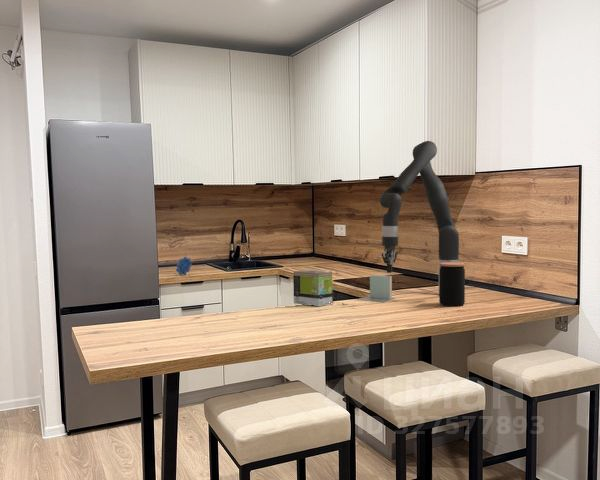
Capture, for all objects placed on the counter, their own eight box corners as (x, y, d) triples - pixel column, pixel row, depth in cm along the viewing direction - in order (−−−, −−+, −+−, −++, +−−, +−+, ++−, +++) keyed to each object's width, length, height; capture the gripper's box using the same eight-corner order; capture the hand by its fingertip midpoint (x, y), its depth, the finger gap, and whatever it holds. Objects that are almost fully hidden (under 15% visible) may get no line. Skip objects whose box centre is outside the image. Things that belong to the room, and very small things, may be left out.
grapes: (187, 273, 380) (187, 256, 380) (193, 274, 376) (193, 256, 375) (172, 275, 372) (172, 257, 372) (178, 276, 367) (178, 257, 367)
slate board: (396, 301, 255) (396, 298, 255) (383, 305, 243) (383, 302, 243) (369, 299, 263) (369, 295, 263) (354, 303, 251) (354, 299, 251)
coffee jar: (466, 303, 247) (466, 262, 246) (462, 307, 238) (462, 264, 237) (441, 302, 252) (442, 262, 251) (437, 305, 242) (437, 264, 241)
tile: (391, 298, 255) (391, 276, 255) (390, 298, 253) (389, 276, 253) (371, 296, 261) (371, 274, 260) (369, 297, 259) (369, 275, 258)
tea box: (333, 304, 249) (333, 271, 248) (318, 307, 242) (317, 273, 241) (307, 301, 259) (307, 268, 258) (292, 303, 252) (292, 270, 251)
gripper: (391, 236, 257) (390, 274, 258) (403, 235, 268) (402, 271, 269) (376, 235, 261) (375, 273, 262) (389, 234, 272) (388, 270, 273)
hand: (389, 272), depth 266 cm, fingers closed
